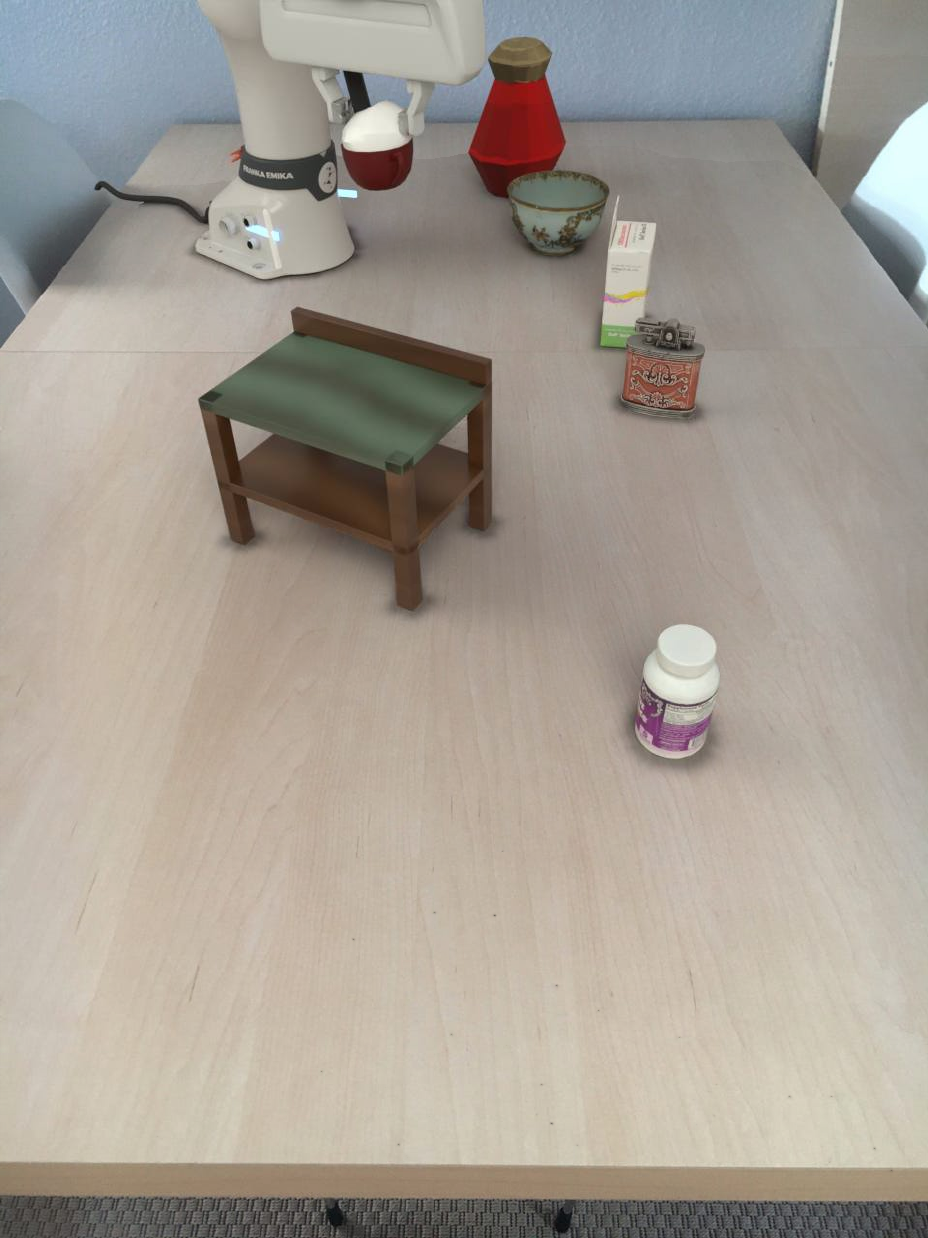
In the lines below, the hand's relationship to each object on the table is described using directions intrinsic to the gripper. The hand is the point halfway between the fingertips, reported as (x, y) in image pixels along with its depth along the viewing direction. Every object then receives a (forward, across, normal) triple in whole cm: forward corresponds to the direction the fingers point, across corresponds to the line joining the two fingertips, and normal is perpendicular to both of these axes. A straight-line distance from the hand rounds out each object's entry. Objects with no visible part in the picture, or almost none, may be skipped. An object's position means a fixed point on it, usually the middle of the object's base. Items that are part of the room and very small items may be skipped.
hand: (376, 127), depth 85 cm
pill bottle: (+30, +41, -26) cm, 57 cm away
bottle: (+30, -20, +64) cm, 74 cm away
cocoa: (+5, 0, 0) cm, 5 cm away
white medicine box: (+30, +13, +29) cm, 44 cm away
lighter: (+30, +23, +16) cm, 41 cm away
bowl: (+30, -5, +47) cm, 56 cm away
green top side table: (+29, +7, -18) cm, 35 cm away
